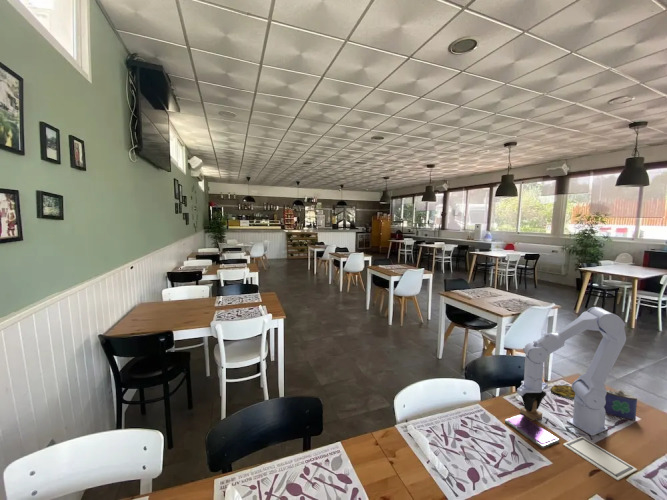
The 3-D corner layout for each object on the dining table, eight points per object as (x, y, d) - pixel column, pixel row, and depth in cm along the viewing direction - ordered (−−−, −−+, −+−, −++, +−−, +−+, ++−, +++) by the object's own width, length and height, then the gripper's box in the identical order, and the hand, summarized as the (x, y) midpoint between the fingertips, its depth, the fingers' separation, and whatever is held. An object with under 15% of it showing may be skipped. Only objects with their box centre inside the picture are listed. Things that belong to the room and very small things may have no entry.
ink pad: (520, 416, 106) (520, 413, 106) (559, 442, 94) (559, 438, 94) (504, 422, 103) (505, 418, 103) (542, 448, 91) (542, 444, 91)
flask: (633, 418, 106) (636, 391, 105) (637, 422, 103) (639, 395, 103) (601, 410, 110) (603, 384, 110) (604, 414, 108) (606, 388, 107)
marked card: (581, 437, 96) (581, 436, 96) (636, 470, 83) (637, 468, 83) (563, 444, 92) (563, 443, 92) (617, 480, 79) (617, 478, 79)
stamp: (528, 410, 110) (529, 394, 110) (542, 418, 106) (543, 402, 105) (520, 412, 109) (521, 397, 108) (533, 421, 104) (534, 405, 103)
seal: (561, 402, 117) (593, 400, 119) (563, 393, 116) (595, 390, 118) (543, 387, 126) (573, 386, 128) (544, 378, 126) (574, 377, 127)
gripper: (535, 367, 112) (533, 399, 113) (510, 373, 107) (508, 406, 108) (554, 375, 106) (552, 409, 107) (528, 382, 101) (526, 418, 102)
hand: (531, 408), depth 107 cm, fingers closed on stamp, 3 cm apart
